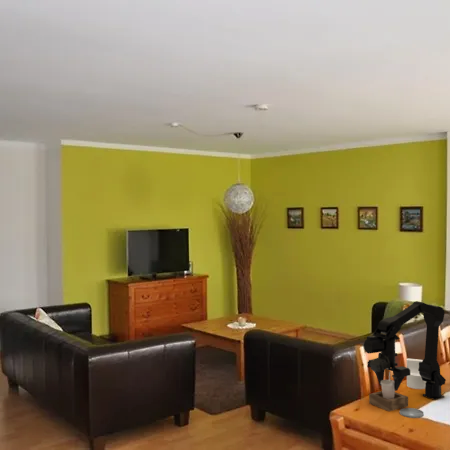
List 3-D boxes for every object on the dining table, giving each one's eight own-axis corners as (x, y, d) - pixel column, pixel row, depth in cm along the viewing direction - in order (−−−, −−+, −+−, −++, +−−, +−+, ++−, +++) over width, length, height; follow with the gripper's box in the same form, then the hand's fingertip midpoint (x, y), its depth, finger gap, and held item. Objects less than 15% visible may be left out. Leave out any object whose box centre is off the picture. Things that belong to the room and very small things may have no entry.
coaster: (410, 408, 220) (410, 406, 220) (428, 415, 212) (428, 413, 212) (394, 412, 216) (394, 410, 216) (412, 419, 208) (412, 417, 208)
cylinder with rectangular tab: (405, 387, 247) (405, 361, 247) (408, 382, 255) (408, 356, 255) (426, 390, 243) (425, 363, 242) (428, 384, 251) (428, 358, 250)
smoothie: (394, 408, 220) (394, 374, 220) (378, 405, 223) (378, 372, 223) (398, 403, 225) (398, 370, 225) (383, 401, 229) (382, 368, 229)
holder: (388, 398, 232) (387, 389, 232) (408, 406, 222) (408, 396, 222) (369, 403, 226) (369, 394, 226) (389, 411, 217) (389, 401, 217)
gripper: (357, 348, 228) (358, 385, 228) (391, 358, 212) (391, 397, 212) (376, 345, 234) (377, 381, 234) (411, 354, 217) (411, 392, 218)
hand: (388, 388), depth 224 cm, fingers open, 8 cm apart
